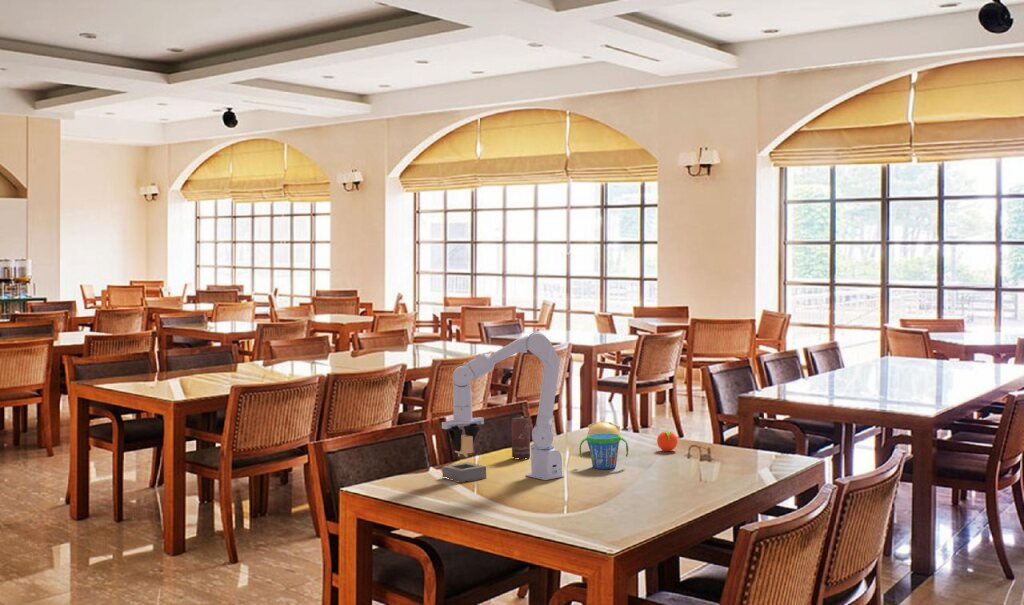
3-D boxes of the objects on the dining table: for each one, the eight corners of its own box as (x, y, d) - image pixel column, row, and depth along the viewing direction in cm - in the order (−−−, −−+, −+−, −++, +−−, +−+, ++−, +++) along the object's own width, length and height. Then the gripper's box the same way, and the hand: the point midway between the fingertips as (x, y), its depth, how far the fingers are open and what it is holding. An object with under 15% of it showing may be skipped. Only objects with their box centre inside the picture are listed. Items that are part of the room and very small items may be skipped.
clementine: (679, 453, 337) (679, 432, 337) (659, 453, 337) (658, 432, 337) (675, 449, 345) (675, 428, 345) (656, 449, 345) (655, 429, 345)
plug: (473, 456, 303) (472, 436, 303) (462, 458, 300) (462, 437, 300) (465, 454, 306) (465, 434, 306) (454, 456, 304) (454, 436, 303)
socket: (486, 478, 303) (486, 466, 303) (460, 482, 297) (460, 470, 297) (467, 473, 310) (467, 462, 310) (442, 478, 304) (442, 466, 304)
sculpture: (622, 449, 348) (621, 418, 347) (618, 455, 336) (617, 423, 336) (590, 448, 350) (589, 418, 350) (584, 454, 339) (584, 423, 338)
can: (530, 456, 337) (530, 415, 337) (529, 460, 331) (528, 418, 330) (513, 456, 338) (512, 415, 337) (511, 460, 331) (510, 418, 331)
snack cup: (577, 470, 312) (577, 438, 312) (582, 463, 322) (581, 432, 322) (627, 471, 309) (626, 438, 309) (630, 464, 319) (629, 433, 319)
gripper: (474, 402, 311) (474, 445, 311) (435, 406, 302) (436, 451, 302) (487, 404, 305) (488, 448, 305) (448, 409, 296) (449, 454, 296)
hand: (463, 449), depth 303 cm, fingers closed on plug, 4 cm apart
